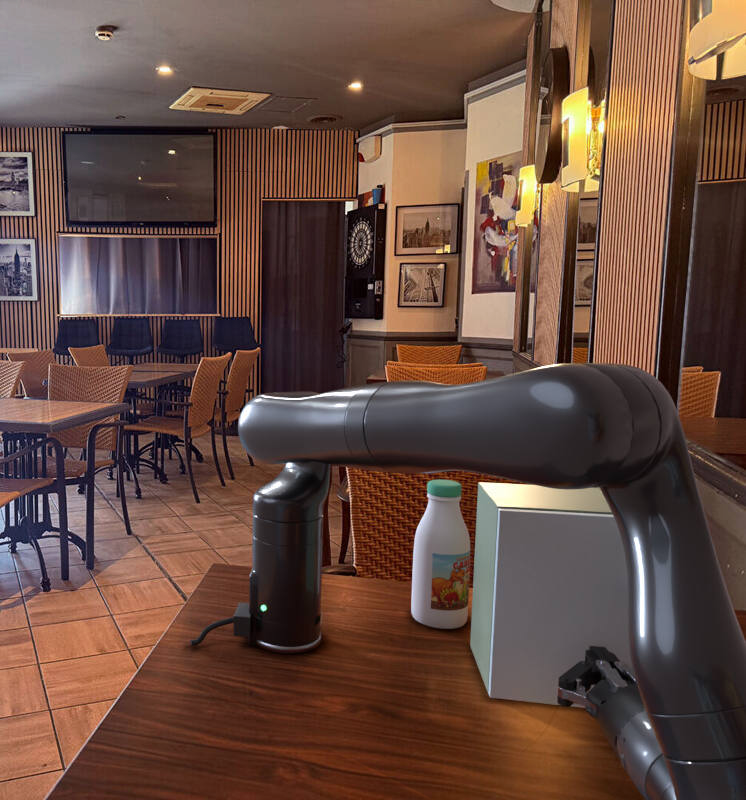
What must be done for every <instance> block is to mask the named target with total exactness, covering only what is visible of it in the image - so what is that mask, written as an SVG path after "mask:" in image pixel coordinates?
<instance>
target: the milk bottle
mask: <svg viewBox="0 0 746 800" xmlns="http://www.w3.org/2000/svg"><path fill="white" fill-rule="evenodd" d="M426 491H427V493H426V494H427V495H426V497H427V498H428V501H427V505H426V508H425V511H424V514H423V516H422V517H421V519H420V521H419V523H418V525H417V526H416V527H417V528H416V531H415V534H414V541H413V551H412V552H413V554H412V577H411V603H410V607H411V608H410V613H411V616H412V618H413V619H414V620H415V621H416V622H418V623H419V624H422V625H425V626H426V627H431V628H435V629H441V630H442V629H443V630H444V629H446V630H449V629H459V628H461V627H464V625H465V624H466V623H467V621H468V616H469V593H470V576H471V575H470V573H471V572H470V571H471V538H470V534H469V530H468V527H467V525H466V523H465V520H464V517H463V514H462V511H461V507H460V506H461V505H460V501H461V500H462V493H463V492H462V491H463V486H462V484H461V483H460V482H458V481H455V480H450V479H431V480H429V481H427V484H426Z"/></svg>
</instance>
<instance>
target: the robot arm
mask: <svg viewBox="0 0 746 800" xmlns="http://www.w3.org/2000/svg"><path fill="white" fill-rule="evenodd" d="M678 412H679V411H678V410H677V408H676V405H675V403H674V400H673V398H672V395H670V393H669V391H668V389H666V387H665V385H664V384H663V383H662V382H661V381H660V380H659V379H658V378H657V377H655V376H654V375H653V374H651V373H650V372H648V371H646V370H644V369H642V368H640V367H638V366H634V365H631V364H625V363H614V362H613V363H609V362H576V363H569V362H568V363H555V364H550V365H549V364H548V365H544V366H540V367H539V366H538V367H536V368H532V369H526V370H523V371H519V372H515V373H510V374H506V375H503V376H498V377H493V378H488V379H483V380H477V381H472V382H466V383H460V384H449V383H448V384H447V383H441V382H436V381H431V380H419V379H417V380H416V379H415V380H414V379H413V380H411V379H410V380H409V379H408V380H407V379H405V380H391V381H381V382H373V383H372V382H371V383H366V384H361V385H354V386H349V387H344V388H340V389H339V388H338V389H334V390H330V391H326V392H325V391H324V392H322V393H321V392H320V393H318V392H315V391H311V390H309V391H308V390H307V391H305V390H304V391H303V390H302V391H301V390H300V391H299V390H298V391H279V392H278V391H276V392H275V391H274V392H264V393H260V394H258V395H256V396H254V397H252V398H251V399H249V401H248V402H246V403H245V405H244V406H243V409H242V410H241V412H240V414H239V417H238V422H237V433H238V438H239V441H240V444H241V446H242V448H243V449H244V451H245V453H246V454H247V455H248V456H249V457H250V458H251V459H253V460H254V461H256V462H257V463H260V464H263V465H267V466H275V465H284V467H283V469H282V471H281V472H280V473H279V474H278V475H277V476H276V477H275V478H273V479H272V480H271V481H269V482H268V483H265V484H264V485H262V486H260V487H259V488H257V489H256V491H254V493H253V496H252V497H253V498H252V543H251V544H252V545H251V546H252V547H251V548H252V549H251V552H252V553H251V570H250V573H249V576H248V577H249V578H248V602H238V604H237V607H236V609H235V612H234V614H233V616H231V617H227V618H224V619H220V620H217V621H215V622H213V623H211V624H209V625H207V626H206V627H204V629H203V630H202V631H201V632H200V634H199V635H198V637H197V638H195V639H190V646H191V647H196V646H198V645H201V643H202V642H203V641H204V639H205V638H206V636H207V635H208V634H209V633H211V631H213V630H215V629H217V628H220V627H223V626H226V625H230V624H233V628H232V629H233V636H234V637H243V638H248V640H247V641H248V645H249V646H256V647H258V648H261V649H262V650H265V651H267V652H271V653H276V654H282V655H283V654H284V655H296V654H304V653H307V652H310V651H312V650H313V651H314V650H315V649H316V648H318V647H319V646H320V645H321V642H322V631H321V630H322V620H323V613H324V612H323V611H324V609H323V608H322V589H323V588H322V585H323V584H322V583H323V582H322V581H323V579H322V578H323V542H324V541H323V540H324V539H323V538H324V507H325V503H326V499H327V497H328V495H329V491H330V479H331V478H330V477H331V467H332V466H334V467H335V466H336V467H341V468H347V469H357V470H363V471H370V472H377V473H378V472H379V473H388V474H389V473H391V474H418V475H419V474H422V475H423V474H437V473H442V472H444V473H445V472H454V471H456V472H457V471H458V472H469V473H473V474H474V473H475V474H479V475H486V476H490V477H495V478H500V479H501V478H502V479H504V480H505V479H506V480H510V481H514V482H520V483H523V484H527V485H537V486H542V487H548V488H554V489H585V488H599V489H600V491H601V492H602V494H603V496H604V498H605V500H606V502H607V504H608V505H609V507H610V509H611V511H612V514H613V516H614V518H615V521H616V523H617V526H618V529H619V532H620V535H621V539H622V542H623V547H624V551H625V557H626V564H627V574H628V635H629V648H630V656H631V662H632V668H633V669H631V668H630V667H629V666H628V665H627V664H626V663H623V662H620V660H619V659H618V658H617V657H616V655H615V654H613V653H612V652H609V651H608V650H607V649H606V647H597V646H590V647H589V650H586V653H585V661H580V662H578V663H577V664H576V665H574V666H573V667H572V668H570V669H569V670H568V671H567V672H565V673H564V674H563V675H561V676H560V677H559V680H558V697H557V703H558V704H560V705H559V706H562V707H566V708H568V707H571V705H572V704H573V703H575V704H580V705H583V706H585V708H584V709H585V711H586V713H587V715H588V716H590V717H591V718H592V719H595V721H597V722H598V724H599V726H600V729H601V731H602V734H603V737H604V738H605V741H607V743H608V745H609V746H610V748H611V750H612V751H613V752H614V754H615V756H616V758H617V759H618V760H619V762H620V765H621V766H622V768H623V769H624V770H625V772H626V773H627V774H628V777H629V778H630V780H631V782H632V783H633V784H634V786H635V788H636V789H637V791H638V793H640V795H641V796H642V797H644V799H645V800H746V638H745V636H744V633H743V631H742V628H741V626H740V623H739V620H738V618H737V617H738V616H737V615H736V612H735V609H734V606H733V603H732V600H731V597H730V594H729V591H728V588H727V585H726V582H725V579H724V576H723V572H722V569H721V566H720V563H719V559H718V555H717V551H716V547H715V545H714V542H713V538H712V534H711V531H710V527H709V524H708V519H707V516H706V513H705V509H704V505H703V502H702V498H701V495H700V491H699V488H698V487H699V486H698V484H697V483H698V482H697V479H696V474H695V472H694V467H693V464H692V459H691V455H690V451H689V447H688V442H687V440H686V436H685V435H686V434H685V432H684V428H683V425H682V421H681V419H680V415H679V413H678ZM591 685H595V686H594V687H593V688H592V689H591ZM590 689H591V690H590ZM589 690H590V691H589ZM588 691H589V692H588ZM586 692H588V693H586Z"/></svg>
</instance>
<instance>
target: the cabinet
mask: <svg viewBox="0 0 746 800" xmlns="http://www.w3.org/2000/svg"><path fill="white" fill-rule="evenodd" d="M498 508H502V509H520V510H537V511H555V512H573V513H591V514H608V515H613V514H612V511H611V509H610V507H609V505H608V504H607V502H606V500H605V498H604V496H603V494H602V492H601V491H600V489H599V487H592V488H585V489H554V488H548V487H542V486H537V485H533V484H526V483H523V484H522V483H505V482H503V483H502V482H501V483H500V482H483V481H482V482H477V501H476V519H475V537H474V538H475V542H474V561H473V579H472V581H473V582H472V602H471V620H470V621H471V623H470V641H469V646H470V649H471V652H472V654H473V657H474V659H475V660H474V661H475V662H476V665H477V668H478V670H479V674H480V676H481V679H482V681H483V684H484V687H485V689H486V692H487V693H488V691H489V672H490V653H491V635H492V616H493V597H494V578H495V559H496V541H497V522H498Z"/></svg>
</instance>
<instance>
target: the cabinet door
mask: <svg viewBox="0 0 746 800" xmlns="http://www.w3.org/2000/svg"><path fill="white" fill-rule="evenodd" d="M590 646H597V647H606V649H607V650H608V651H609V652H612V653H613V654H615V655H616V657H617V658H618V659H619V660H620V662H623V663H626V664H627V665H628V666H629V667H630V668H631V669H633V668H632V662H631V656H630V648H629V635H628V574H627V564H626V557H625V551H624V547H623V542H622V539H621V535H620V532H619V529H618V526H617V523H616V521H615V518H614V516H613V515H608V514H591V513H573V512H555V511H537V510H520V509H502V508H498V522H497V541H496V559H495V578H494V597H493V616H492V635H491V653H490V672H489V691H488V692H487V693H488V696H489V698H490V699H498V700H506V701H516V702H525V703H535V704H544V705H552V706H553V705H554V706H561V705H560V704H558V703H557V697H558V680H559V677H560V676H561V675H563V674H564V673H565V672H567V671H568V670H569V669H570V668H572V667H573V666H574V665H576V664H577V663H578V662H580V661H585V653H586V650H589V647H590ZM594 686H595V685H591V689H592V688H593V687H594ZM591 689H590V690H591ZM590 690H589V691H590ZM589 691H588V692H589ZM588 692H586V693H588ZM570 707H572V708H580V709H586V708H585V706H583V705H580V704H575V703H573V704H572V705H571V706H570Z"/></svg>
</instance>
